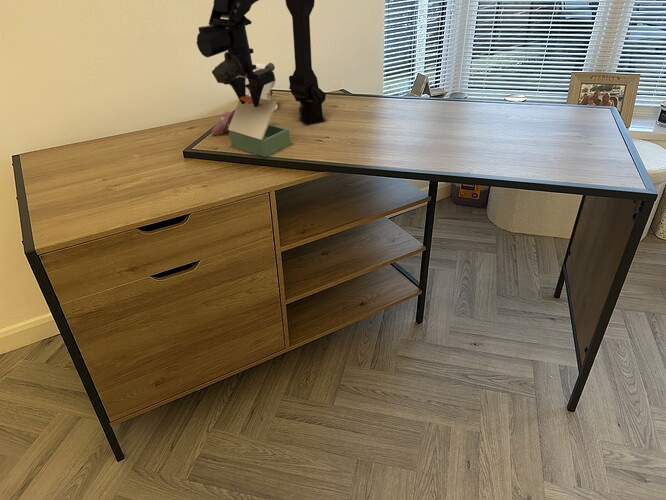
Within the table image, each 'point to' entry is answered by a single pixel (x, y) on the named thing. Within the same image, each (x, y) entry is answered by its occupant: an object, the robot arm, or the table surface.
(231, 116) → the purple oblong lump
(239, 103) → the lid
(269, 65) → the panda figurine
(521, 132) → the table surface
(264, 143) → the box
